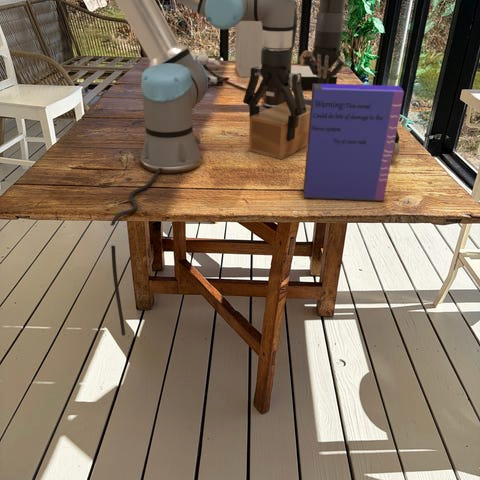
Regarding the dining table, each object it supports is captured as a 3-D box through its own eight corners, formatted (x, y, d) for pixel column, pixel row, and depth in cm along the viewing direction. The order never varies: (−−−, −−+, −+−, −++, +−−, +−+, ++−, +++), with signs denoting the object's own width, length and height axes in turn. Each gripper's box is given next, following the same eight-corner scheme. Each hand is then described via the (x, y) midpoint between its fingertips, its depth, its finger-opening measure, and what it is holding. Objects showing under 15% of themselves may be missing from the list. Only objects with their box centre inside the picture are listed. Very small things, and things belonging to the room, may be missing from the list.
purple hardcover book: (379, 191, 109) (398, 84, 97) (383, 201, 105) (404, 90, 93) (303, 188, 110) (312, 82, 98) (304, 197, 106) (314, 88, 94)
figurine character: (397, 170, 124) (390, 144, 136) (403, 143, 120) (396, 119, 131) (371, 168, 125) (366, 143, 137) (376, 142, 120) (371, 118, 132)
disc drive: (292, 89, 190) (292, 76, 188) (286, 77, 210) (286, 65, 207) (335, 90, 191) (337, 77, 188) (325, 77, 210) (327, 65, 208)
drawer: (310, 118, 154) (312, 94, 150) (337, 124, 149) (340, 99, 145) (271, 137, 138) (272, 111, 134) (299, 144, 133) (302, 117, 129)
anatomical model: (307, 75, 230) (306, 75, 216) (294, 63, 229) (292, 62, 215) (326, 55, 226) (326, 53, 212) (313, 41, 225) (312, 39, 211)
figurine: (151, 84, 182) (229, 91, 185) (152, 62, 179) (231, 70, 183) (156, 81, 204) (226, 88, 208) (157, 62, 201) (227, 69, 205)
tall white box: (273, 76, 210) (276, 6, 196) (239, 77, 209) (240, 6, 194) (266, 67, 226) (268, 2, 212) (235, 67, 225) (235, 1, 210)
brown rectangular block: (285, 132, 145) (287, 100, 140) (316, 139, 140) (320, 107, 135) (248, 150, 132) (249, 116, 127) (281, 159, 126) (284, 124, 121)
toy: (175, 75, 210) (174, 58, 206) (151, 64, 228) (150, 49, 224) (222, 69, 222) (222, 53, 218) (195, 59, 239) (195, 45, 236)
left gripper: (326, 51, 114) (317, 140, 125) (247, 41, 126) (245, 123, 137) (310, 56, 109) (303, 148, 120) (229, 45, 120) (229, 129, 132)
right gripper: (356, 30, 135) (347, 92, 144) (314, 25, 141) (309, 84, 151) (344, 33, 130) (336, 97, 139) (302, 27, 136) (297, 89, 145)
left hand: (272, 135), depth 129 cm, fingers closed on brown rectangular block, 11 cm apart
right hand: (322, 90), depth 145 cm, fingers closed
